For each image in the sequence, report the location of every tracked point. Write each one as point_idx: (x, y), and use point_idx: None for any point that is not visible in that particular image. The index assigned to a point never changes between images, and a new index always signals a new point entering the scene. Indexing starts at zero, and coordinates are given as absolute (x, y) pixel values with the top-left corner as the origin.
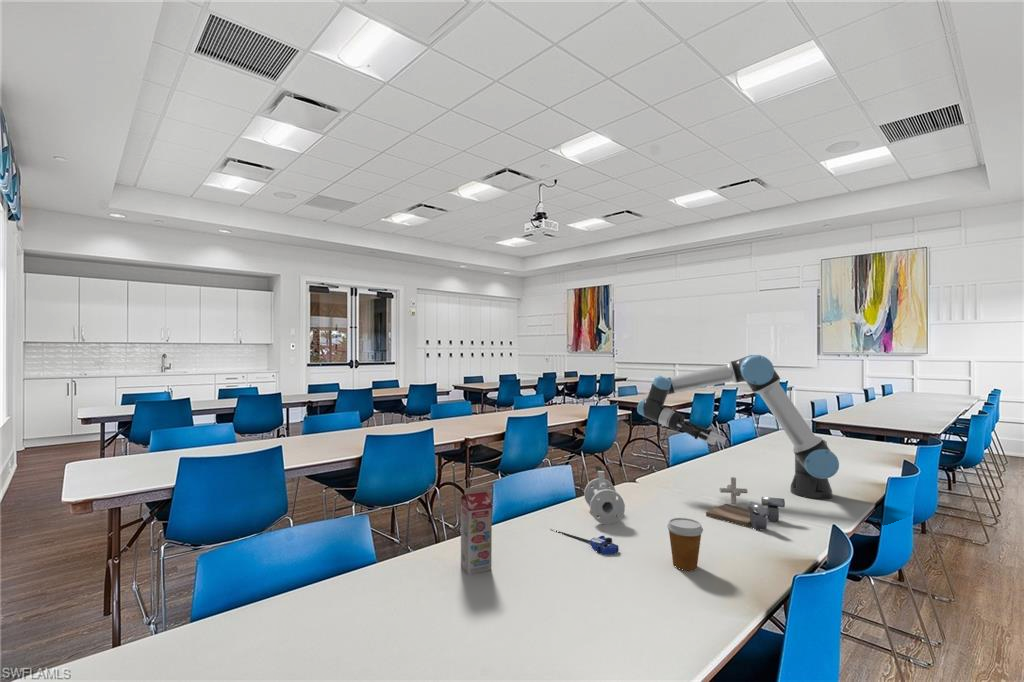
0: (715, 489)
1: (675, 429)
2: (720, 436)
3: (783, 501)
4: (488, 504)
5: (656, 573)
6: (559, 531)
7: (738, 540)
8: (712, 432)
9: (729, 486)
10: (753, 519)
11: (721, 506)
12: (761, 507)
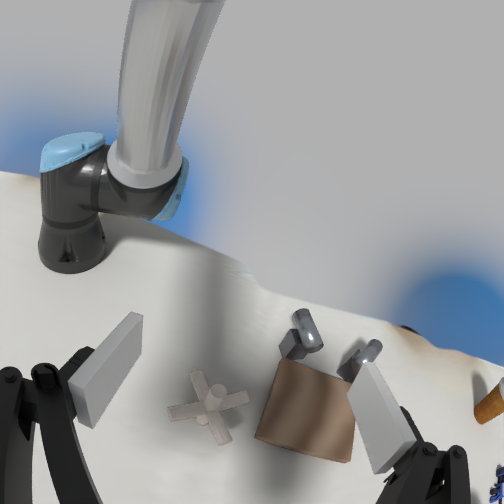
0: None
1: None
2: (125, 340)
3: (309, 312)
4: None
5: (496, 425)
6: None
7: (407, 393)
8: (92, 379)
9: (187, 414)
10: None
11: (290, 441)
12: (380, 346)
